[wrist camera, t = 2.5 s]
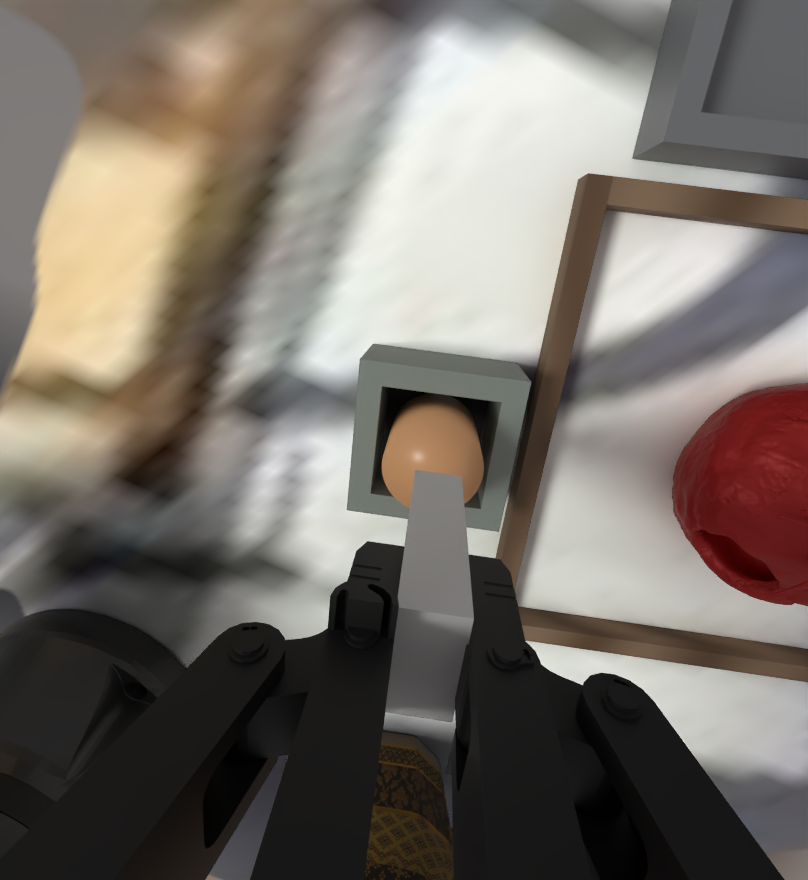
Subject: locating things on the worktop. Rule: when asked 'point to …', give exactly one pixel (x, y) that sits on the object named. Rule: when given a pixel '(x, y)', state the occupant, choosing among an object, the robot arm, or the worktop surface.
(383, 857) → the ceramic cup
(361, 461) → the button housing
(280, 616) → the worktop surface
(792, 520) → the pomegranate
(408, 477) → the button
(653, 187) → the wooden flat square frame
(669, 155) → the tray
